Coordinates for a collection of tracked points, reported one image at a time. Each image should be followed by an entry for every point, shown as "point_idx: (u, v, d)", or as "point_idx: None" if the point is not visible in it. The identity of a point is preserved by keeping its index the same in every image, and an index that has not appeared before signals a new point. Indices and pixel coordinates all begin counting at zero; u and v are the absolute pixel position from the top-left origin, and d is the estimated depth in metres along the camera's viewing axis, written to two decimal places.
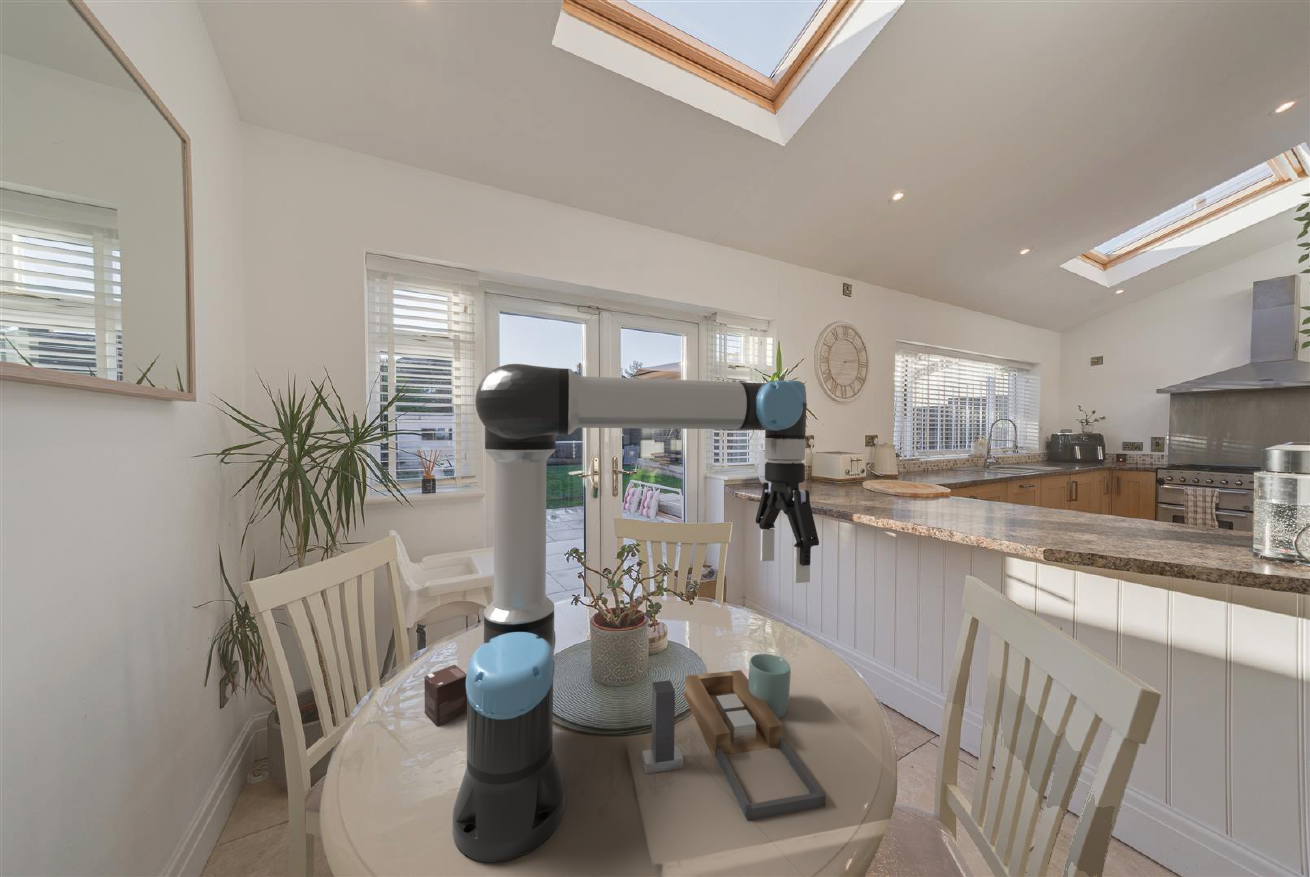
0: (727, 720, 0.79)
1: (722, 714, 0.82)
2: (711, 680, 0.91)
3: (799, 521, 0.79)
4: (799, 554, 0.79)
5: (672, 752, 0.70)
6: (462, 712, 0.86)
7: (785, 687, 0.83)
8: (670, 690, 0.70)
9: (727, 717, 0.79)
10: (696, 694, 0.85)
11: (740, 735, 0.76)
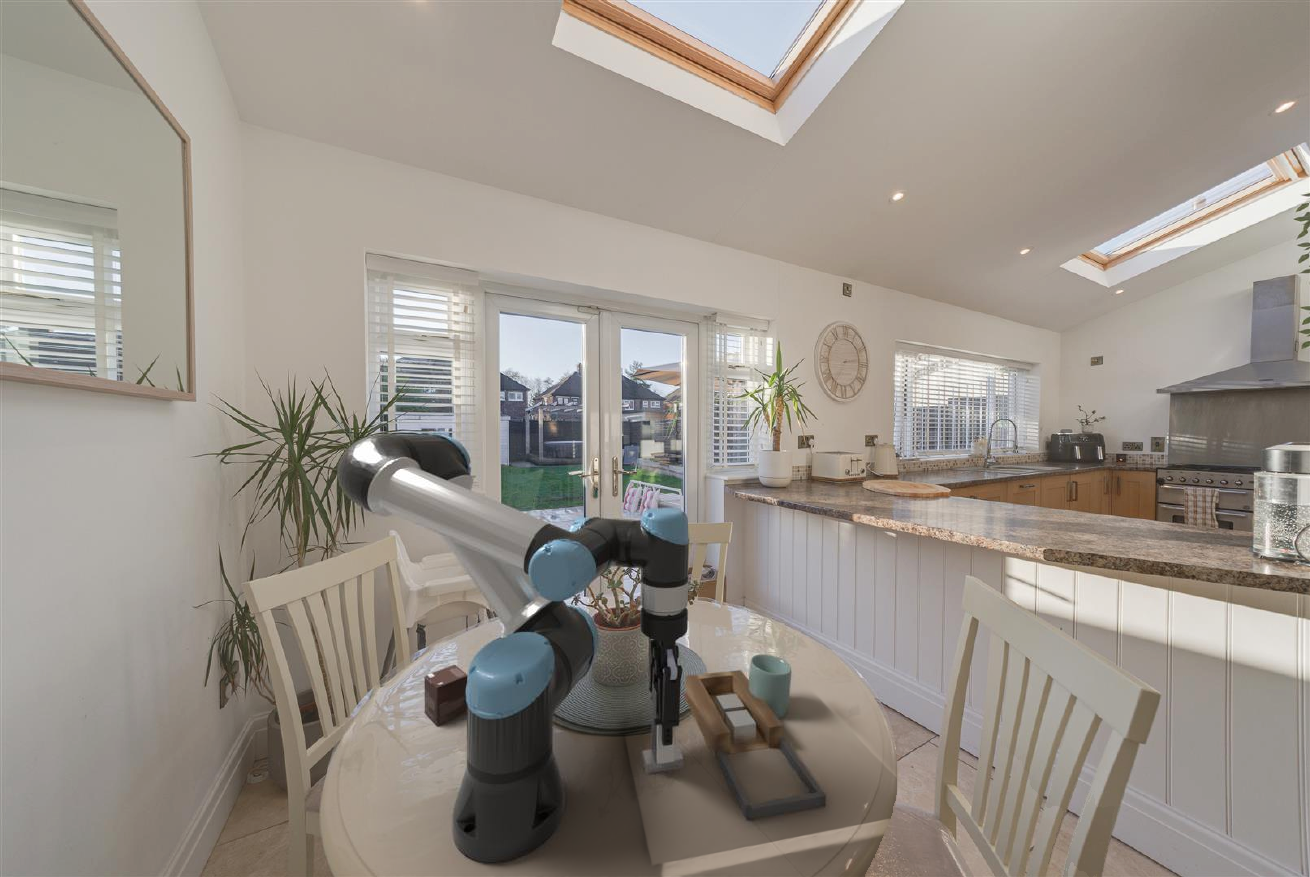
0: (727, 720, 0.79)
1: (722, 714, 0.82)
2: (711, 680, 0.91)
3: (663, 699, 0.66)
4: (661, 731, 0.69)
5: None
6: (462, 712, 0.86)
7: (786, 688, 0.83)
8: None
9: (727, 717, 0.79)
10: (696, 694, 0.85)
11: (740, 735, 0.76)
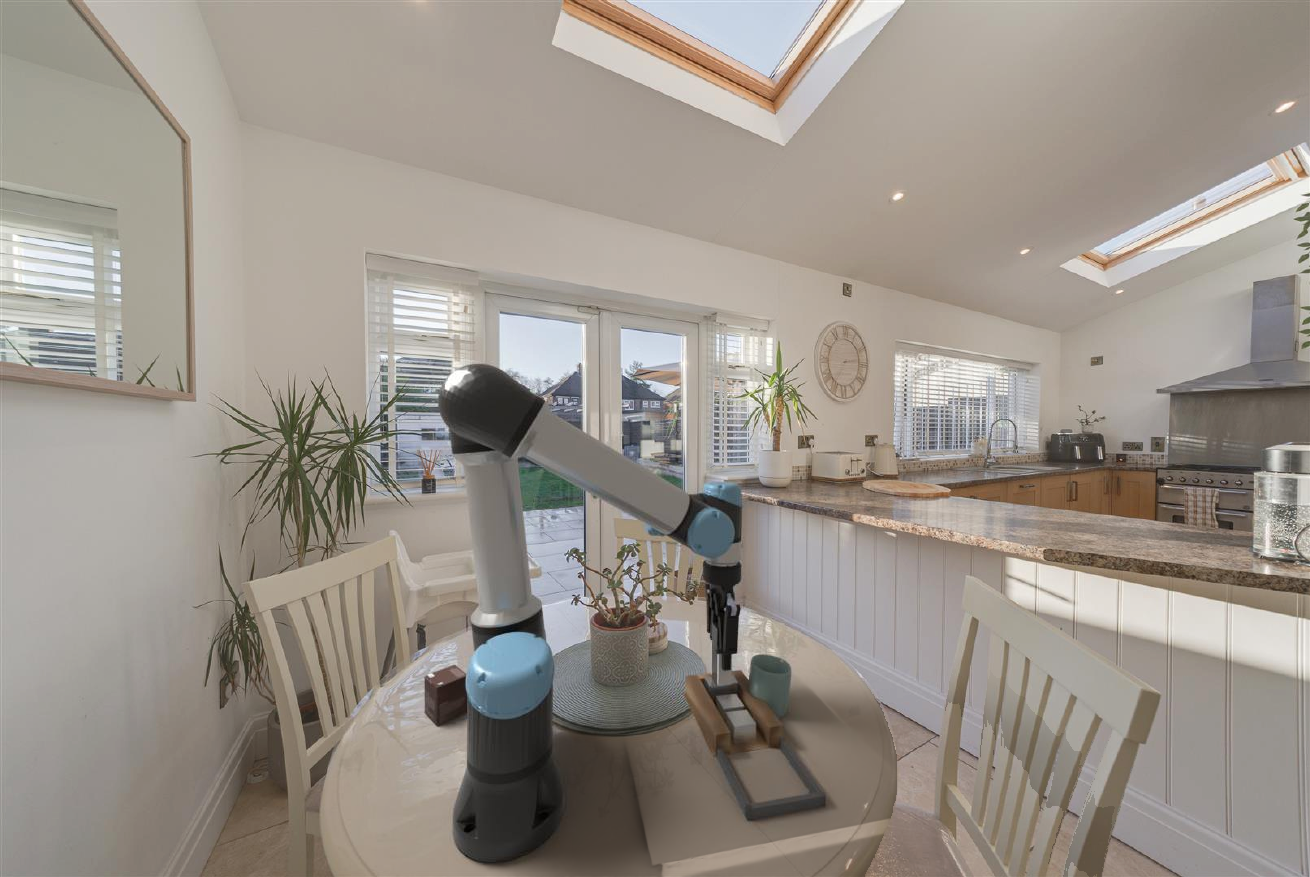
0: (727, 720, 0.79)
1: (722, 714, 0.82)
2: None
3: (724, 632, 0.83)
4: (721, 659, 0.86)
5: None
6: (462, 712, 0.86)
7: (786, 688, 0.83)
8: None
9: (727, 717, 0.79)
10: (696, 694, 0.85)
11: (740, 735, 0.76)
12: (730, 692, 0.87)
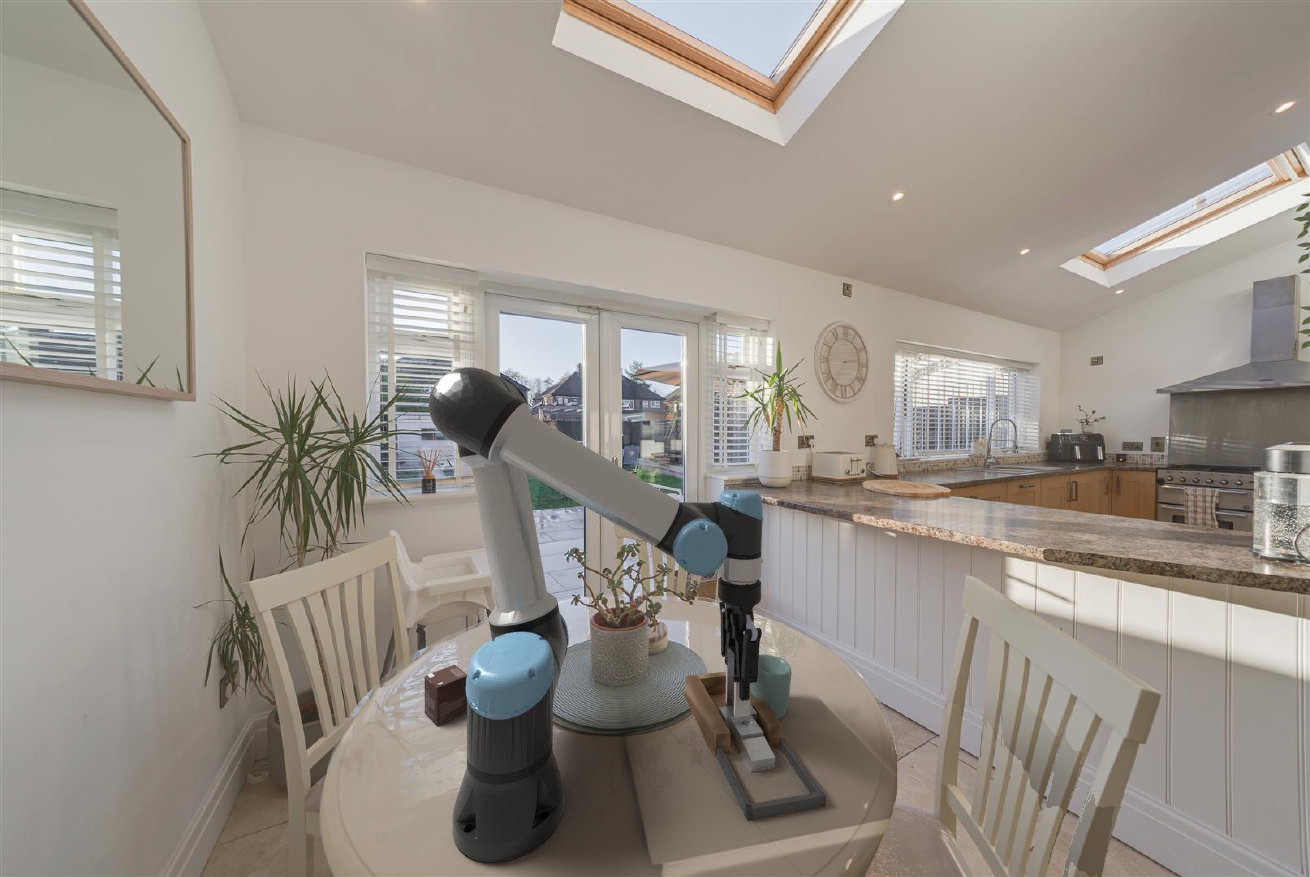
0: (743, 749, 0.73)
1: (739, 741, 0.75)
2: (711, 680, 0.91)
3: (743, 658, 0.75)
4: (738, 688, 0.77)
5: None
6: (462, 712, 0.86)
7: (786, 688, 0.83)
8: None
9: (743, 746, 0.73)
10: (696, 694, 0.85)
11: (757, 769, 0.70)
12: None
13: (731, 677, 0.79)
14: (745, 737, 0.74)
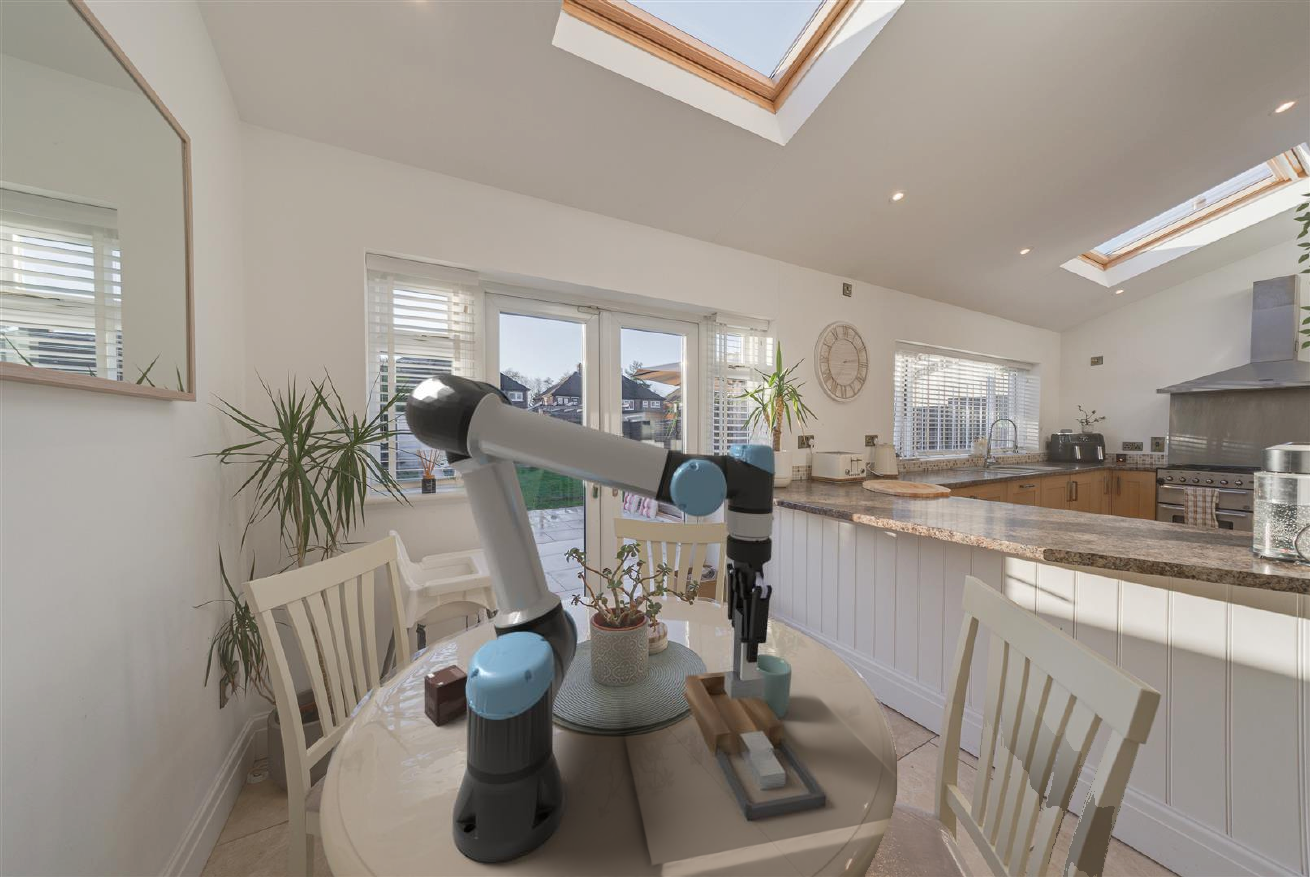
0: (751, 767, 0.70)
1: (748, 757, 0.71)
2: (711, 680, 0.91)
3: (751, 617, 0.71)
4: (746, 649, 0.74)
5: None
6: (462, 712, 0.86)
7: (786, 688, 0.83)
8: None
9: (751, 763, 0.70)
10: (696, 694, 0.85)
11: (767, 786, 0.67)
12: (755, 689, 0.75)
13: (738, 639, 0.75)
14: (755, 753, 0.71)
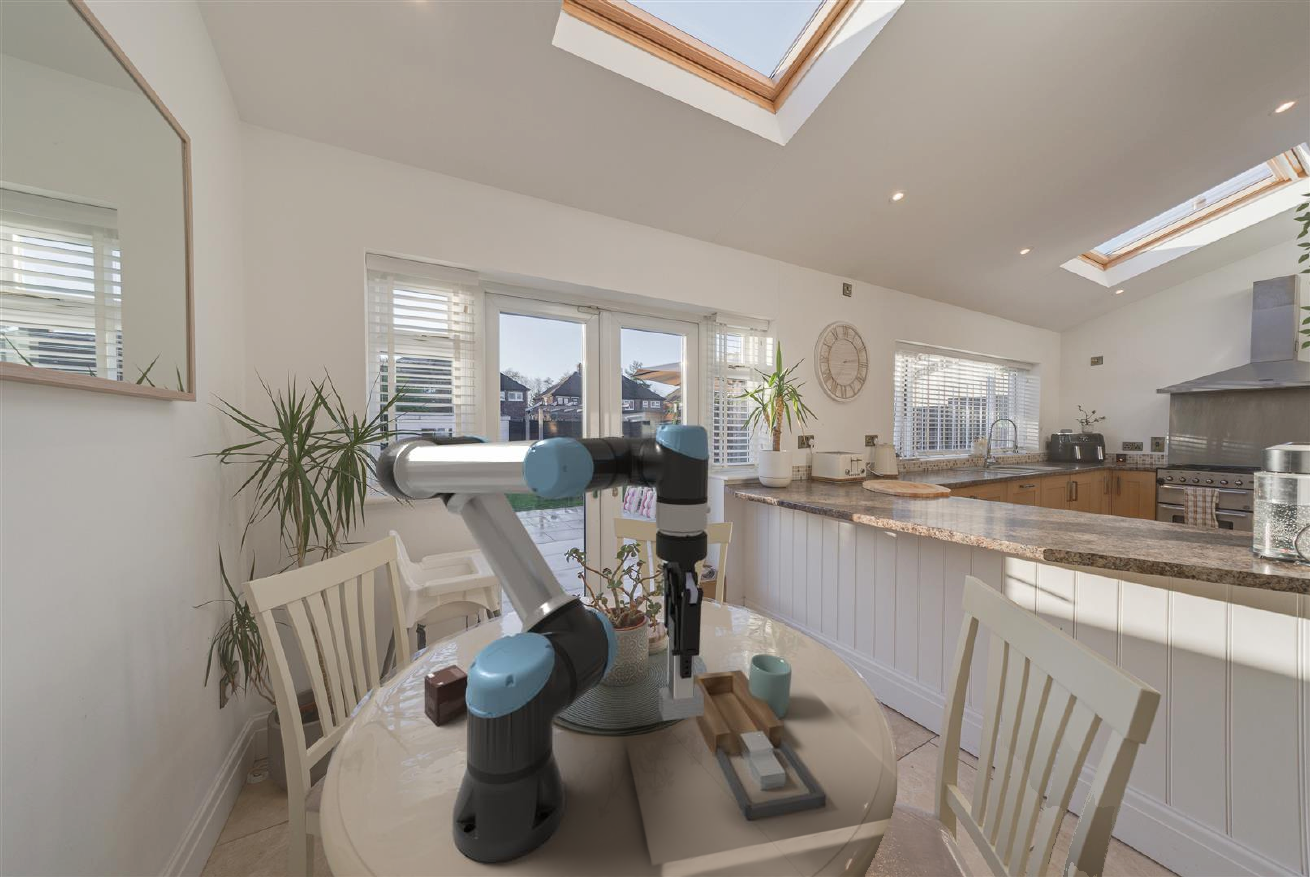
0: (751, 767, 0.70)
1: (748, 757, 0.71)
2: (711, 680, 0.91)
3: (681, 625, 0.61)
4: (679, 663, 0.63)
5: None
6: (462, 712, 0.86)
7: (786, 688, 0.83)
8: None
9: (751, 763, 0.70)
10: None
11: (767, 786, 0.67)
12: (692, 708, 0.65)
13: None
14: (755, 753, 0.71)
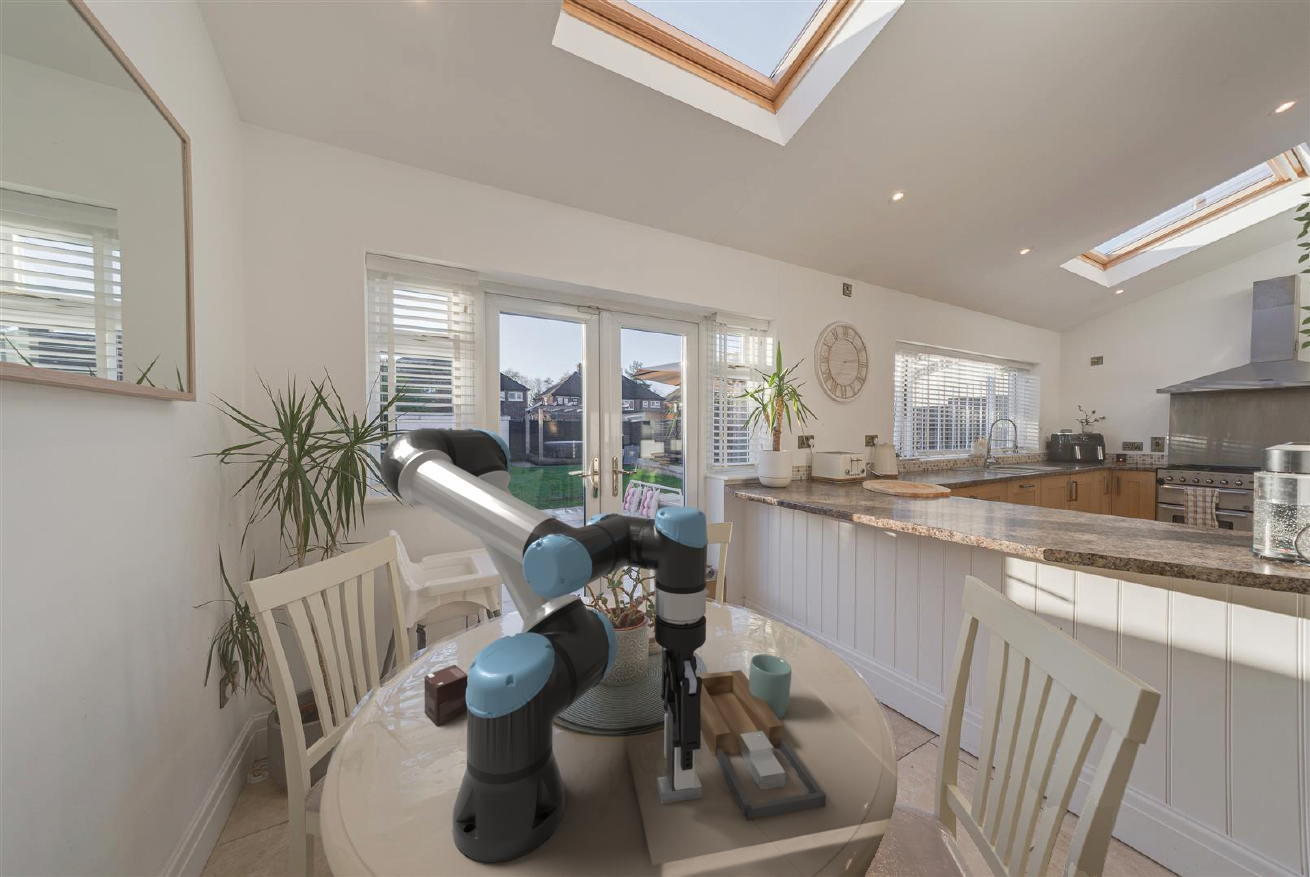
0: (751, 767, 0.70)
1: (748, 757, 0.71)
2: (711, 680, 0.91)
3: (681, 717, 0.60)
4: (680, 753, 0.62)
5: None
6: (462, 712, 0.86)
7: (786, 688, 0.83)
8: None
9: (751, 763, 0.70)
10: None
11: (767, 786, 0.67)
12: None
13: (670, 742, 0.65)
14: (755, 753, 0.71)
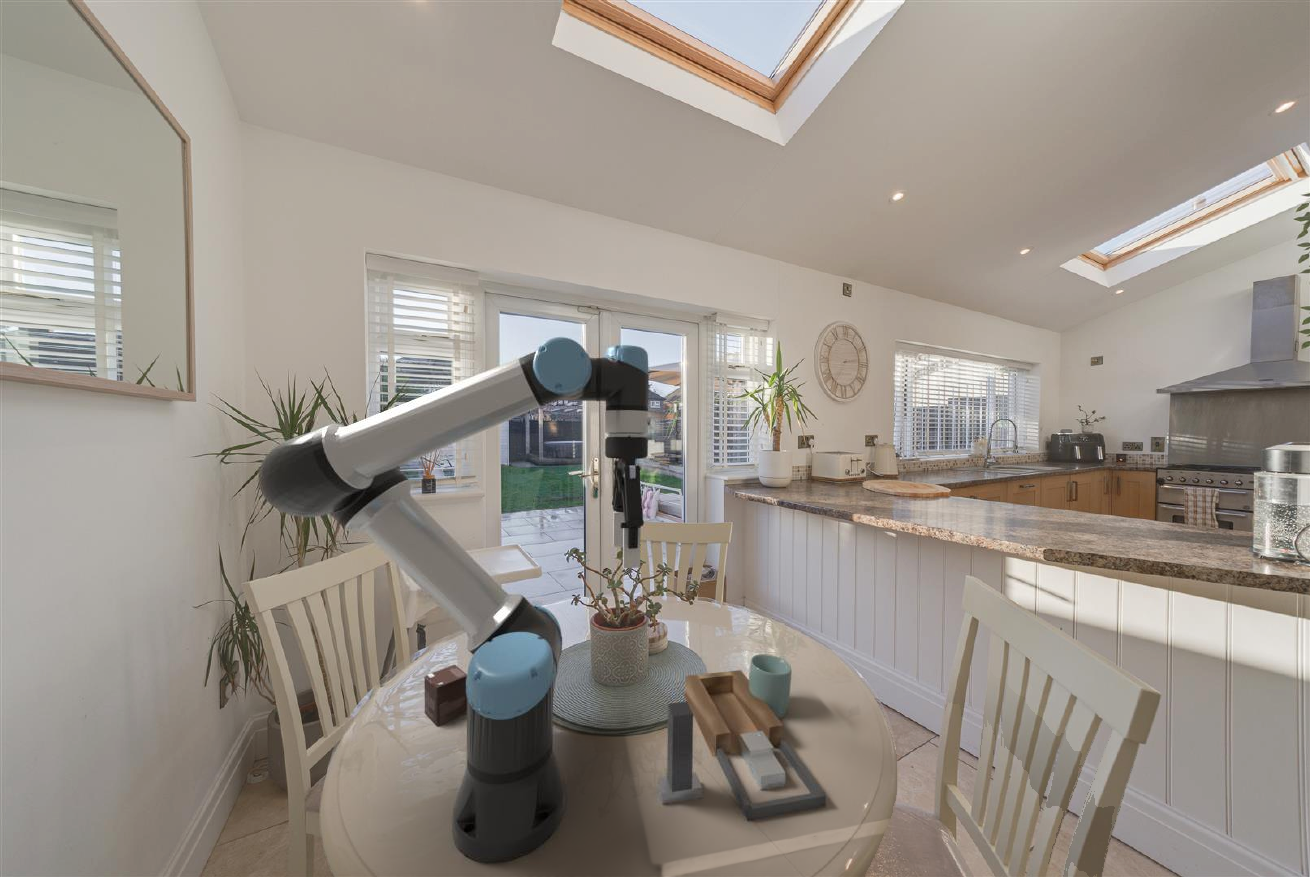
0: (751, 767, 0.70)
1: (748, 757, 0.71)
2: (711, 680, 0.91)
3: (625, 499, 0.71)
4: (627, 536, 0.72)
5: (690, 780, 0.65)
6: (462, 712, 0.86)
7: (786, 687, 0.83)
8: (688, 713, 0.65)
9: (751, 763, 0.70)
10: (696, 694, 0.85)
11: (767, 786, 0.67)
12: None
13: (670, 743, 0.65)
14: (755, 753, 0.71)
